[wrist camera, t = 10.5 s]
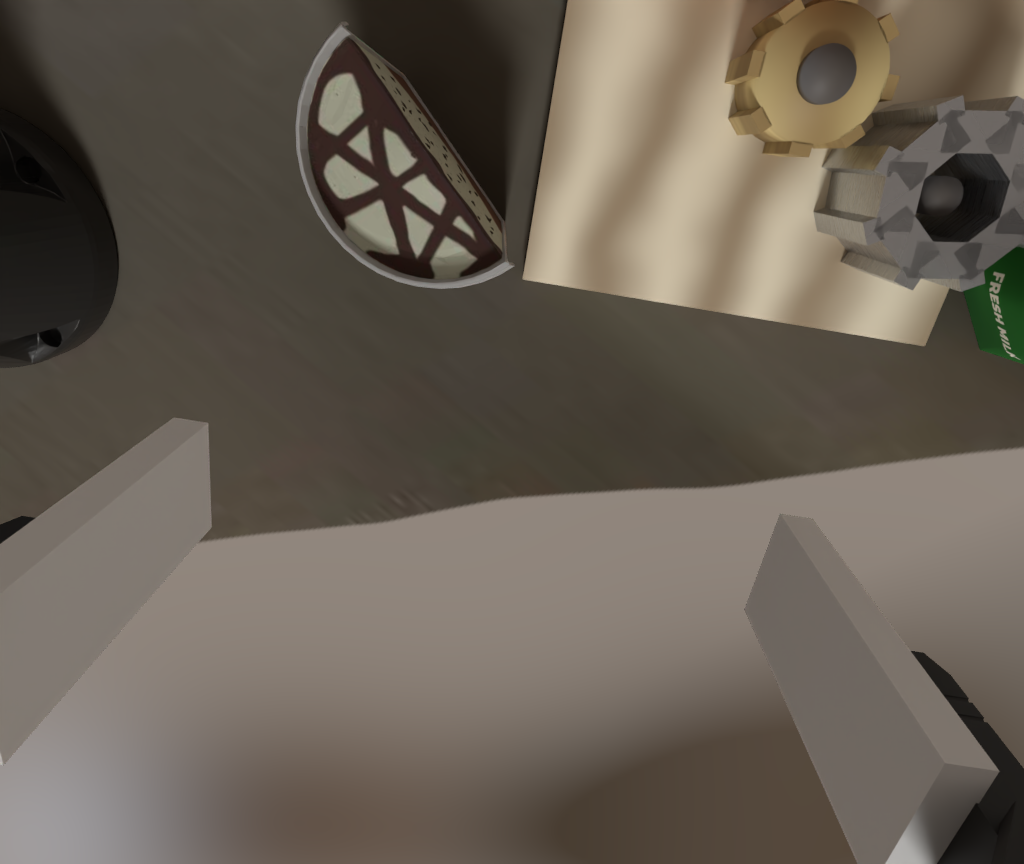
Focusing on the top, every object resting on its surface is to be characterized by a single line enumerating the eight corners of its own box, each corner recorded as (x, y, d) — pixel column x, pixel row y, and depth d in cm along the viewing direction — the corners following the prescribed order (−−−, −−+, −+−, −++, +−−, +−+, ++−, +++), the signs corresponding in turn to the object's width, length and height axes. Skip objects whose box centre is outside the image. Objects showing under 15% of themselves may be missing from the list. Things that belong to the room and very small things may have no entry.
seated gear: (802, 268, 37) (848, 289, 31) (833, 103, 34) (891, 93, 28) (953, 272, 37) (1025, 293, 31) (999, 106, 33) (1090, 96, 28)
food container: (302, 122, 36) (222, 113, 27) (386, 48, 35) (331, 11, 26) (437, 303, 40) (407, 348, 31) (519, 243, 38) (513, 272, 29)
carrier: (523, 274, 39) (520, 295, 34) (608, -254, 30) (625, -348, 24) (911, 339, 40) (972, 370, 34) (1117, -158, 30) (1248, -228, 25)
